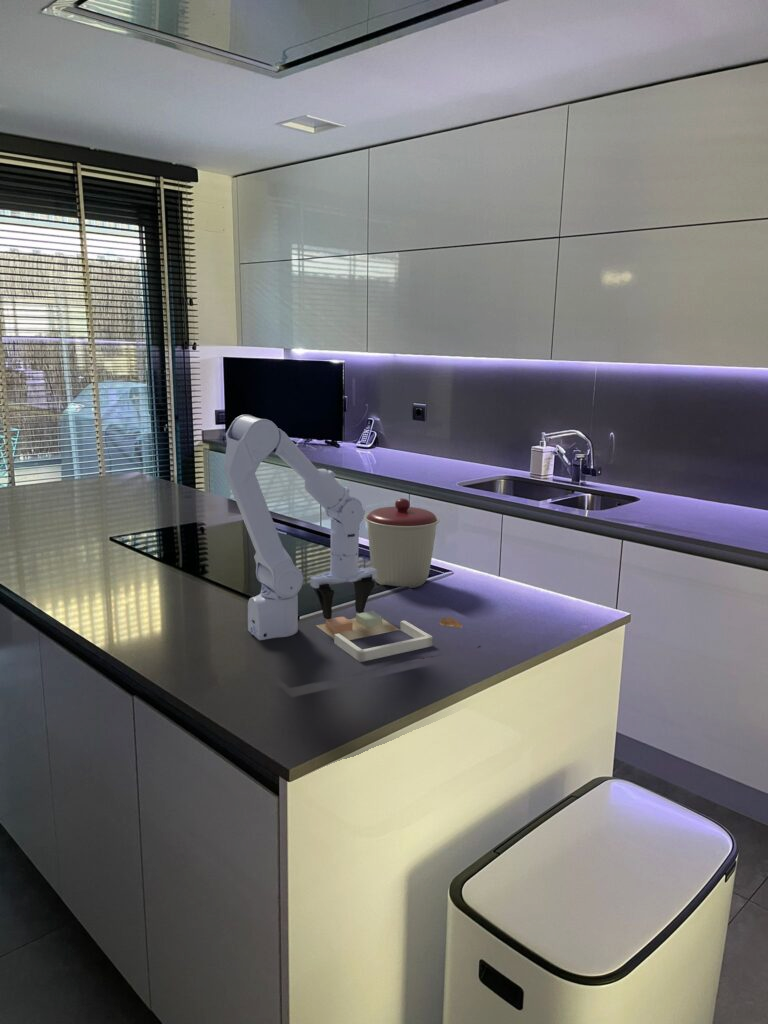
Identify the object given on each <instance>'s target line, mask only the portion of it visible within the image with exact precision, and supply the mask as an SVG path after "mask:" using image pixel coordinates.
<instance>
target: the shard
mask: <svg viewBox="0 0 768 1024" xmlns="http://www.w3.org/2000/svg"><path fill="white" fill-rule="evenodd" d="M438 621H439V622H438V623H439V624H440V626H443V627H452V628H457V629H458V628H459V629H462V628H463V626H462V624H461V622H459V621H458V620H456V618H455V619H454V618H452V617H442V618H441V619H440V620H438Z"/></svg>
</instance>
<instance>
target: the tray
mask: <svg viewBox="0 0 768 1024" xmlns="http://www.w3.org/2000/svg"><path fill="white" fill-rule="evenodd" d="M399 622H400V625H399V626H400V627H399V629H400V630H399V631H401V632H403V633H405V635H408V636H410V637H411V638H410V639H404V640H402V641H396V642H393V643H387V644H382V645H378V646H373V647H369V648H363V649H362V648H361V647H359V646H357V645H356V644H355V643H353V642H352V640H348V639H346V638H345V637H343V636H342V635H341V634H339V633H338V634H334V639H333V641H334V645H335V646H337V647H338V648H340V649H342V650H343V651H344V652H346V653H347V654H348V655H349V656H351V657H352V658H354V659H355V660H357V661H358V662H359V663H362V662H366V661H371V660H376V659H380V658H385V657H389V656H394V655H398V654H403V653H407V652H408V653H409V652H412V651H415V650H416V651H417V650H420V649H425V648H429V647H430V648H431V647H434V644H433V643H434V636H433V635H431V634H429V633H427V632H425V631H423V630H422V629H420V628H418V627H417V626H415V625H413V624H412V623H410V622H408V621H406V620H405V619H404V620H401V621H399Z"/></svg>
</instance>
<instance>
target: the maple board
mask: <svg viewBox="0 0 768 1024" xmlns="http://www.w3.org/2000/svg"><path fill="white" fill-rule="evenodd" d="M347 619H348V620H349V621H351V622H352V623H353V629H352V630H348V631H343V632H338V633H339V634H341V635H342V636H343V637H345V638H346V639H348V640H349V641H353V640H357V639H361V638H367V637H372V636H376V635H377V636H378V635H381V634H385V633H390V632H392V633H393V632H397V631H401V630H400V628H398V627H396V625H394V624H392V623H390V622H388V621H387V620H385V619H384V618H382V624H379V625H374V626H368V627H365V626H363V625H361V624H360V623H358V622H357V621H356V617H353V618H347ZM315 627H316V628H318V629H320V630H321V631H322V632H324V633H325V634H326V635H328V636H329V637H330V638H332V639H333V640H334V634H338V633H334V632H333V631H331V630H330V629H328V628H327V627H326V623H321V624H316V625H315Z"/></svg>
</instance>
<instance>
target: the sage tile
mask: <svg viewBox="0 0 768 1024" xmlns="http://www.w3.org/2000/svg"><path fill="white" fill-rule="evenodd" d="M355 618H356V621H357V622H358V623H360V624H361V625H363V626H365V627H368V626H374V625H379V624H382V619H383V616H382V615H380V614H378V613H377V612H375V611H374V610H370V611H369V610H368V611H364V612H363V613H355Z"/></svg>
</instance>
